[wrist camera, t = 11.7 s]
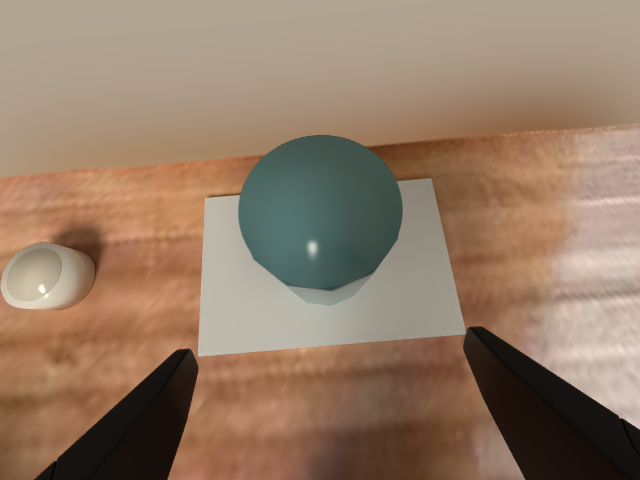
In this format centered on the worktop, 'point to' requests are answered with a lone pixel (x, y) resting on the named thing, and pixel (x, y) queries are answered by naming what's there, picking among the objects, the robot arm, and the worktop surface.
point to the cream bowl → (47, 277)
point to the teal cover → (320, 216)
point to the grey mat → (322, 320)
